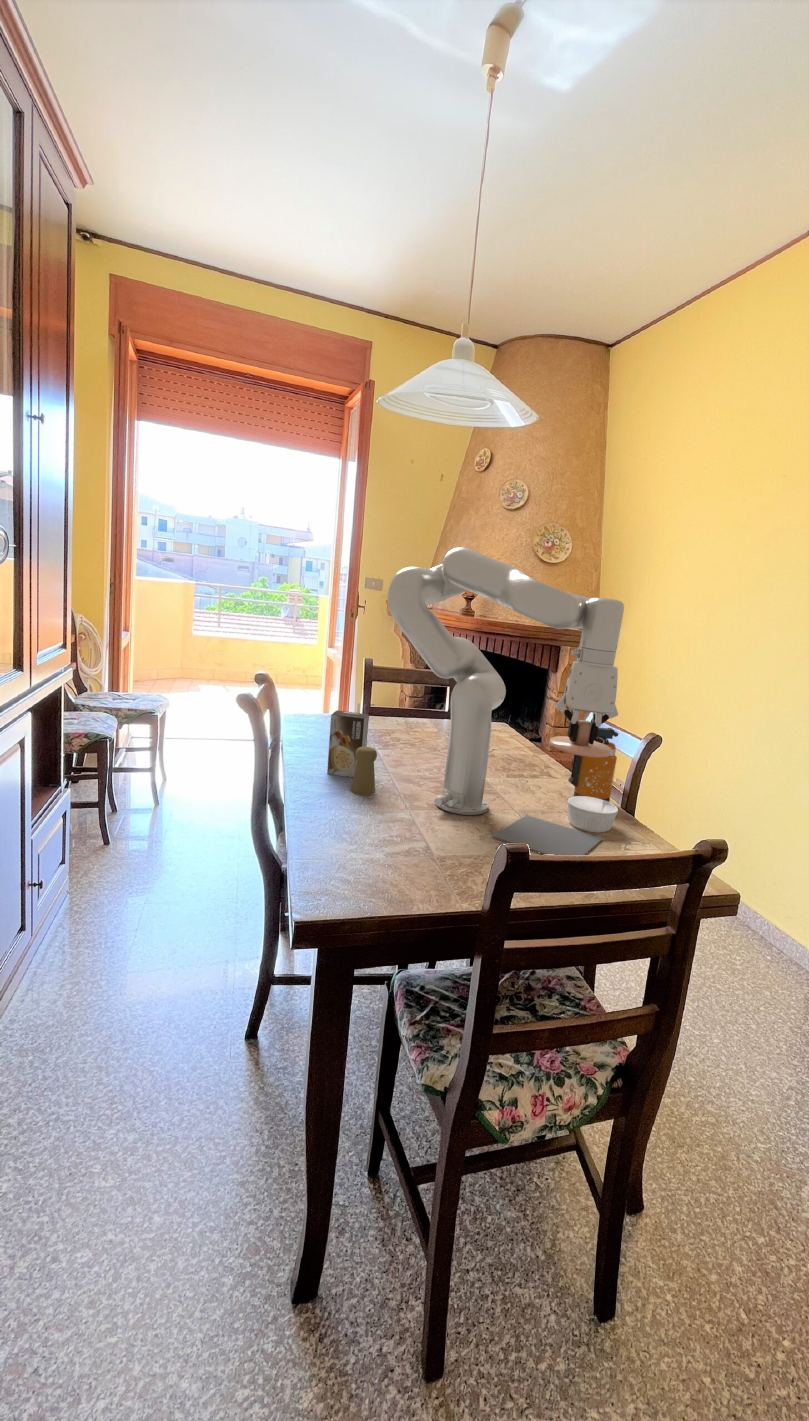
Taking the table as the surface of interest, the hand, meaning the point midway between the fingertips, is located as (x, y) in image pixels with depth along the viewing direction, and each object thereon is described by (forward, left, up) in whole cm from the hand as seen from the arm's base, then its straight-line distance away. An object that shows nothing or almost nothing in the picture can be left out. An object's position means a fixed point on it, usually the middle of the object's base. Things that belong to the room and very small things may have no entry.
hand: (581, 741), depth 136 cm
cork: (-14, +46, -21) cm, 53 cm away
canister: (+26, +4, -21) cm, 33 cm away
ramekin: (+9, -2, -21) cm, 23 cm away
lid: (0, 0, -2) cm, 2 cm away
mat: (-7, +1, -21) cm, 22 cm away
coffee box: (-6, +58, -21) cm, 63 cm away
